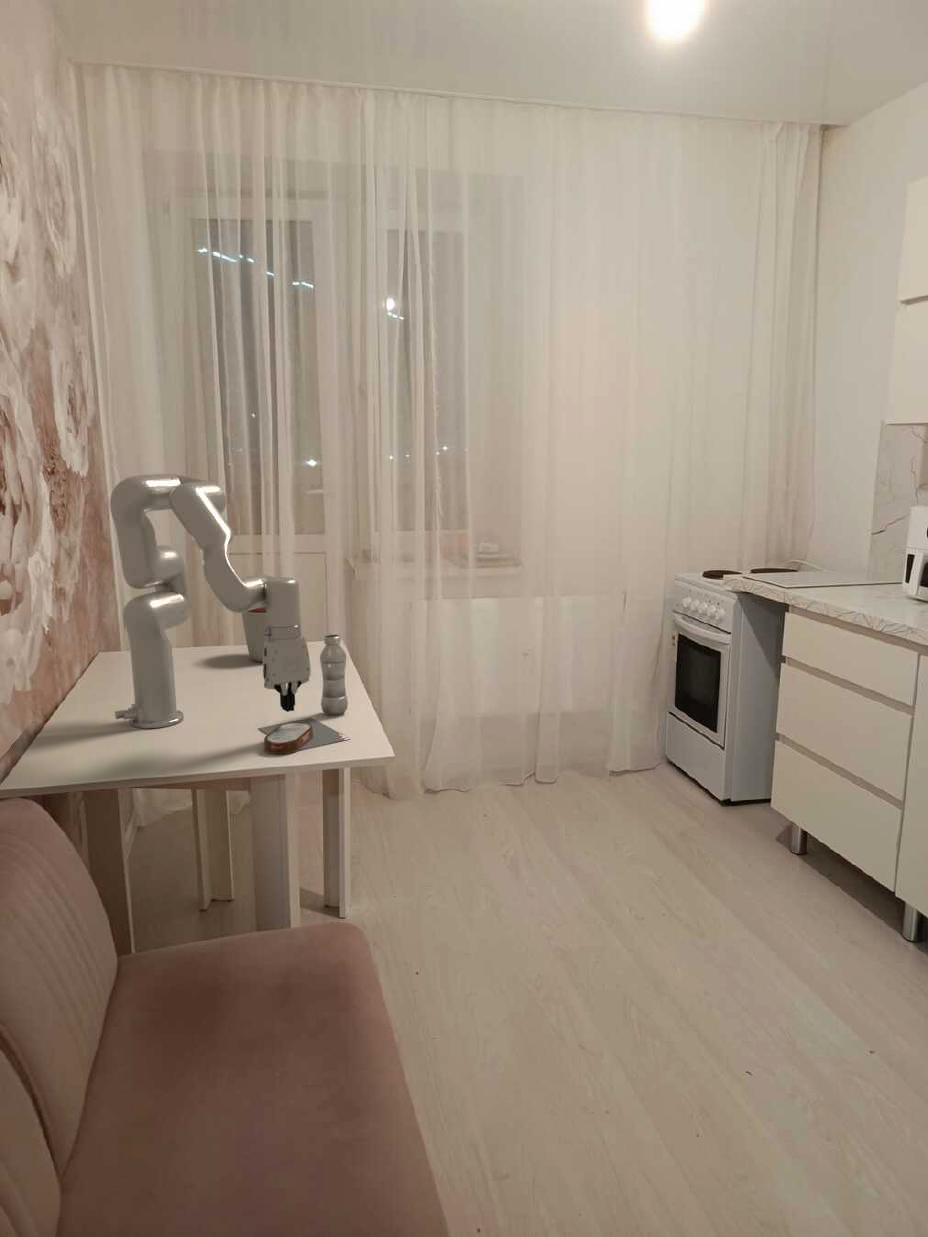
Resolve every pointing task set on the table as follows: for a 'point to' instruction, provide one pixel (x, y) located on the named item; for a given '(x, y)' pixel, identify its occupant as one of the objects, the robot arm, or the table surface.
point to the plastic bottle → (333, 676)
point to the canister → (255, 631)
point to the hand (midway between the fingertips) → (288, 709)
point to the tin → (288, 738)
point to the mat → (320, 733)
